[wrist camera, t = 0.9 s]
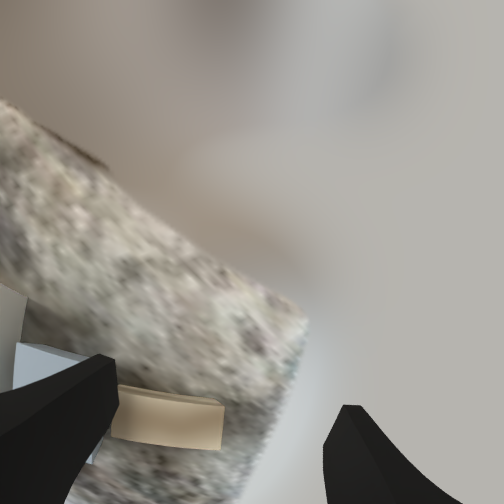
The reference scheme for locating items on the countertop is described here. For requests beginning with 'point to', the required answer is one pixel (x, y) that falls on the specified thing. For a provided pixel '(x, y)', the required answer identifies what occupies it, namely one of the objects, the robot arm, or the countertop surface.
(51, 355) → the slate block
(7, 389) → the board
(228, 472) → the countertop surface
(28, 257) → the countertop surface
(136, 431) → the birch bar
